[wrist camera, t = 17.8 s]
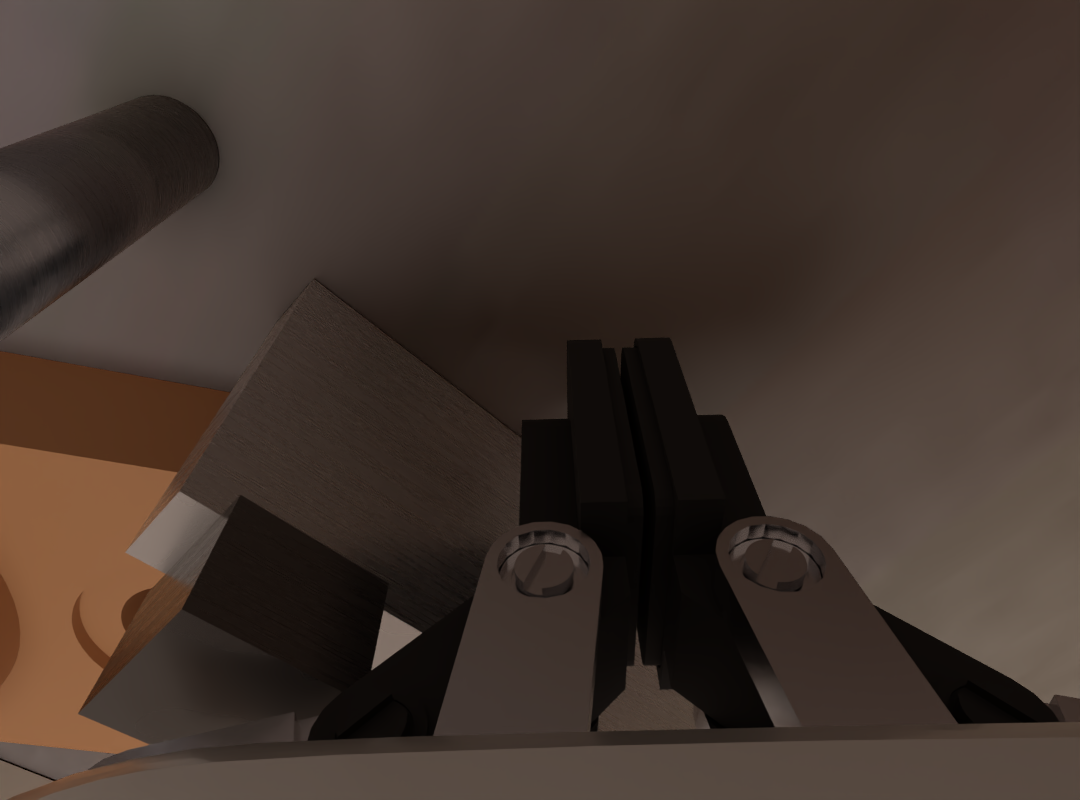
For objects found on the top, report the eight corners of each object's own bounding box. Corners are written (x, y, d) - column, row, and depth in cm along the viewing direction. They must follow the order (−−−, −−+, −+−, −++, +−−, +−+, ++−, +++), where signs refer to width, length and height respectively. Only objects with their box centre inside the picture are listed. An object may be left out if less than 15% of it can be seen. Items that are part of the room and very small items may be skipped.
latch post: (146, 72, 11) (-175, 171, 6) (237, 147, 12) (18, 297, 6) (95, 149, 12) (-238, 299, 6) (185, 217, 12) (-54, 405, 7)
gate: (875, 693, 20) (1053, 1057, 13) (814, 727, 20) (954, 1088, 14) (326, 263, 13) (129, 582, 6) (263, 337, 13) (26, 692, 7)
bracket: (-269, 595, 17) (-695, 940, 11) (-430, 267, 13) (-1269, 541, 7) (486, 690, 19) (473, 1010, 13) (563, 446, 15) (593, 756, 9)
